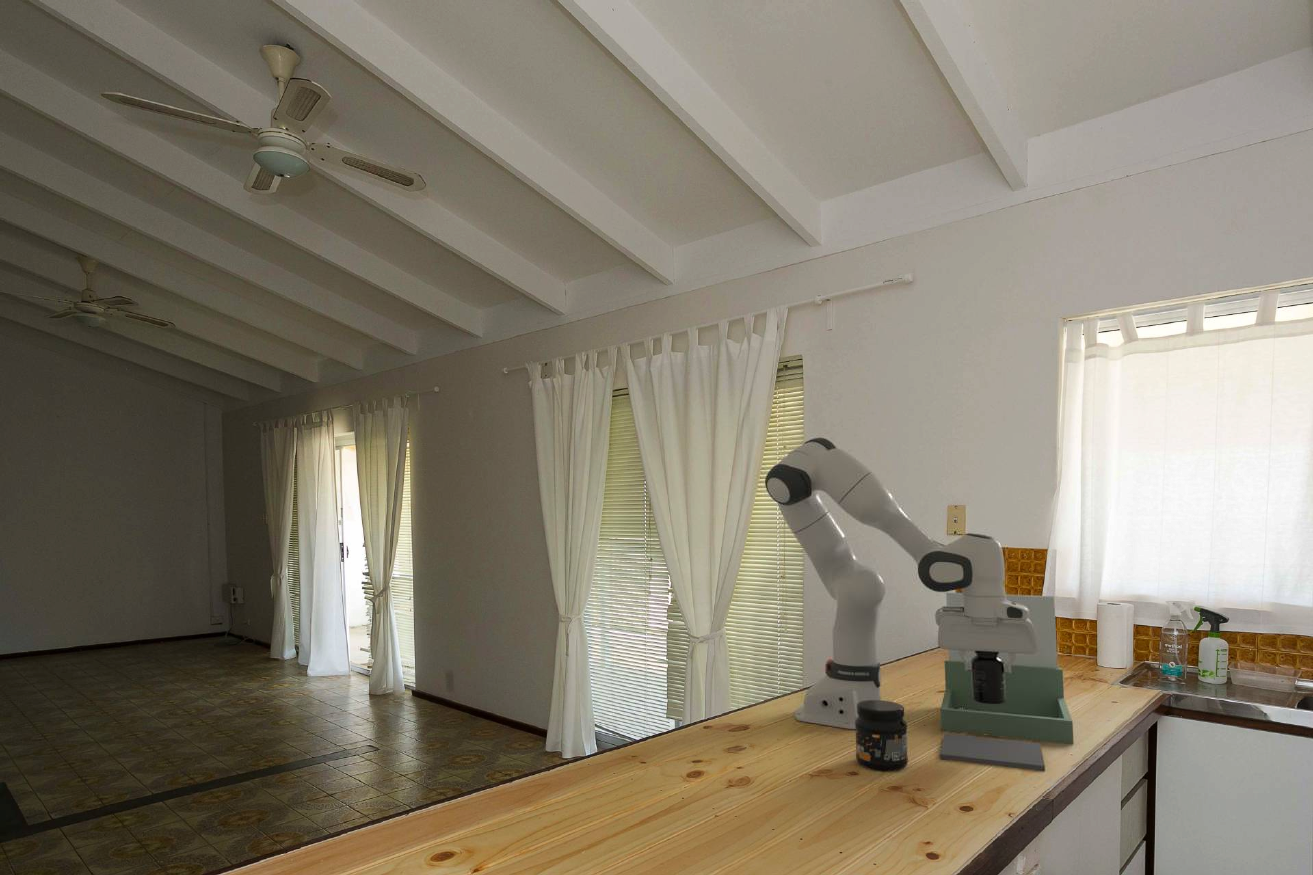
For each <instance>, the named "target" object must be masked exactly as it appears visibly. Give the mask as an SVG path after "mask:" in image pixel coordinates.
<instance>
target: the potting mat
mask: <svg viewBox="0 0 1313 875" xmlns="http://www.w3.org/2000/svg"><path fill="white" fill-rule="evenodd" d="M1043 754H1044V753H1043V749H1042V746H1041V743H1039V742H1031V741H1020V740H1009V739H999V738H991V737H989V738H988V737H981V736H971V735H969V736H968V735H961V734H952V733H943V737H942V744H941V748H940V752H939V759H940V760H945V761H954V762H964V763H970V764H971V763H973V764H981V765H988V766H989V765H990V766H998V767H1007V768H1015V769H1023V770H1025V769H1026V770H1033V771H1041V772H1042V771H1043V772H1046V766H1045V760H1044V756H1043Z"/></svg>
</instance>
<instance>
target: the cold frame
mask: <svg viewBox="0 0 1313 875" xmlns="http://www.w3.org/2000/svg"><path fill="white" fill-rule="evenodd" d="M945 594H946V596H945V597H946V599H945V600H946V606H947V607H964V606H963V592H945ZM1006 600H1008V601H1011V602H1014V603H1017V604H1020V605H1023V606H1026V607H1027V608H1028V609H1029V617H1028V618H1029V619H1030V620H1031V622H1032V623H1033V626H1034V629H1035V633H1036V638H1037V644H1038V651H1037V652H1036V653H1035V654H1024V653H1016V659H1015V661H1014V663H1013V664H1012V666H1011V674H1006V673H1005V687H1006V701H1005V703H1002V704H985V703H980V702H977V701H975V700H974V699H973V696H972V676H971V671H965V663H964V662H963V660H962V658H961V657H960V655H959V650H953V649H947V650H948V651H947V652H948V660H944V681H945V686H944V687H945V688H944V693H943V697H942V701H941V705H940V728H941V729H940V730H946V731H945V732H950V731H954V732H953V733H960V732H965V733H964V734H970V733H972V735H980V734H987V735H986V736H990V735H991V737H1000V736H1002V737H1003V738H1011V739H1022V740H1029V741H1030V740H1031V741H1040V742H1041V741H1042V742H1049V743H1050V742H1051V743H1060V744H1070V745H1074V744H1075V743H1074V741H1075V740H1074V726H1073V723H1074V722H1073V719H1072V716H1071V714H1070V711H1069V708H1068V705H1067V702H1066V701H1065V695H1064V694H1065V693H1064V674H1063V673H1064V671H1063V670H1064V669H1063V668H1060V667H1059V668H1058V666H1059V665H1058V652H1057V651H1058V650H1057V630H1056V610H1055V607H1056V605H1055V595H1054V596H1053V595H1052V596H1051V595H1030V594H1029V595H1025V594H1006ZM948 612H952V611H948ZM963 614H964V612H963ZM975 656H976V653H975V651H971V650H966V655H965V657H966V659H967V660H968V662H971V660H972V658H973V657H975ZM998 657H999V658H1001V659H1002V660H1003V662H1004V664H1008V662H1009V660H1010V659H1011V658H1009V653H1007V652H999V655H998ZM955 708H961V709H955ZM962 708H963V709H962ZM966 709H969V710H966ZM977 710H983V711H977ZM999 712H1002V713H999ZM1002 737H1001V738H1002Z"/></svg>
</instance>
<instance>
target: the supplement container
mask: <svg viewBox="0 0 1313 875" xmlns="http://www.w3.org/2000/svg"><path fill="white" fill-rule="evenodd" d="M857 714H858V717H857V718H856V719H855V726H856V729H855V758H856V761H857V763H858V764H859V765H861V766H862V767H863V768H866V769H869V770H873V771H878V772H895V771H900V770H902V769H904V768H906V767H907V765H908V763H909V758H908V738H907V737H908V736H907V735H908V733H907V729H908V724H907V722H906V721H905V718H904V717H905V707H904V706H903V705H902V704H900V703H898V702H895V701H891V700H882V699H881V700H867V701H862V702H859V703H858V704H857Z"/></svg>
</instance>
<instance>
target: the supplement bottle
mask: <svg viewBox="0 0 1313 875" xmlns="http://www.w3.org/2000/svg"><path fill="white" fill-rule="evenodd" d="M975 653H976V656H975V657H973V658H972V660H971V663H972V671H971V676H972V696H973V699H974V700H975V701H977V702H980V703H985V704H1002V703H1005V701H1006V687H1005V673H1004V662H1003V660H1002V659H1001V658H999V657H998V655H999V652H989V651H975Z"/></svg>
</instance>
